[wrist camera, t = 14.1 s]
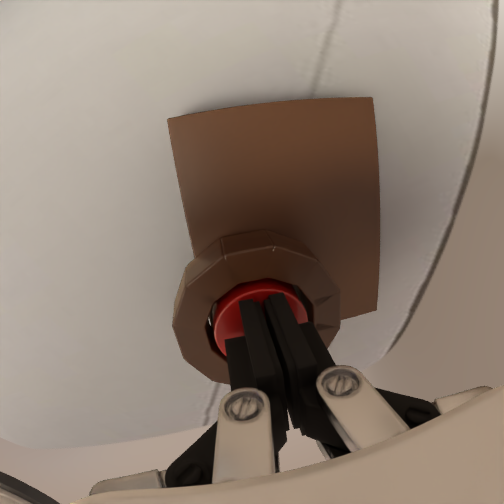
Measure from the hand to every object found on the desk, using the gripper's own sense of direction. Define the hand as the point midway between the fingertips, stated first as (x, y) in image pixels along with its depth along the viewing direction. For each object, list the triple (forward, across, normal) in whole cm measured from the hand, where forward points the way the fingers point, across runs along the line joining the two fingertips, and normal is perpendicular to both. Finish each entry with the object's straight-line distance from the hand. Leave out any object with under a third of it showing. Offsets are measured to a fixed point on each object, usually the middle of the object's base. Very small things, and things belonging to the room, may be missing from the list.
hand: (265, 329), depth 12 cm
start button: (+2, 0, 0) cm, 2 cm away
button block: (+4, -2, -3) cm, 5 cm away
